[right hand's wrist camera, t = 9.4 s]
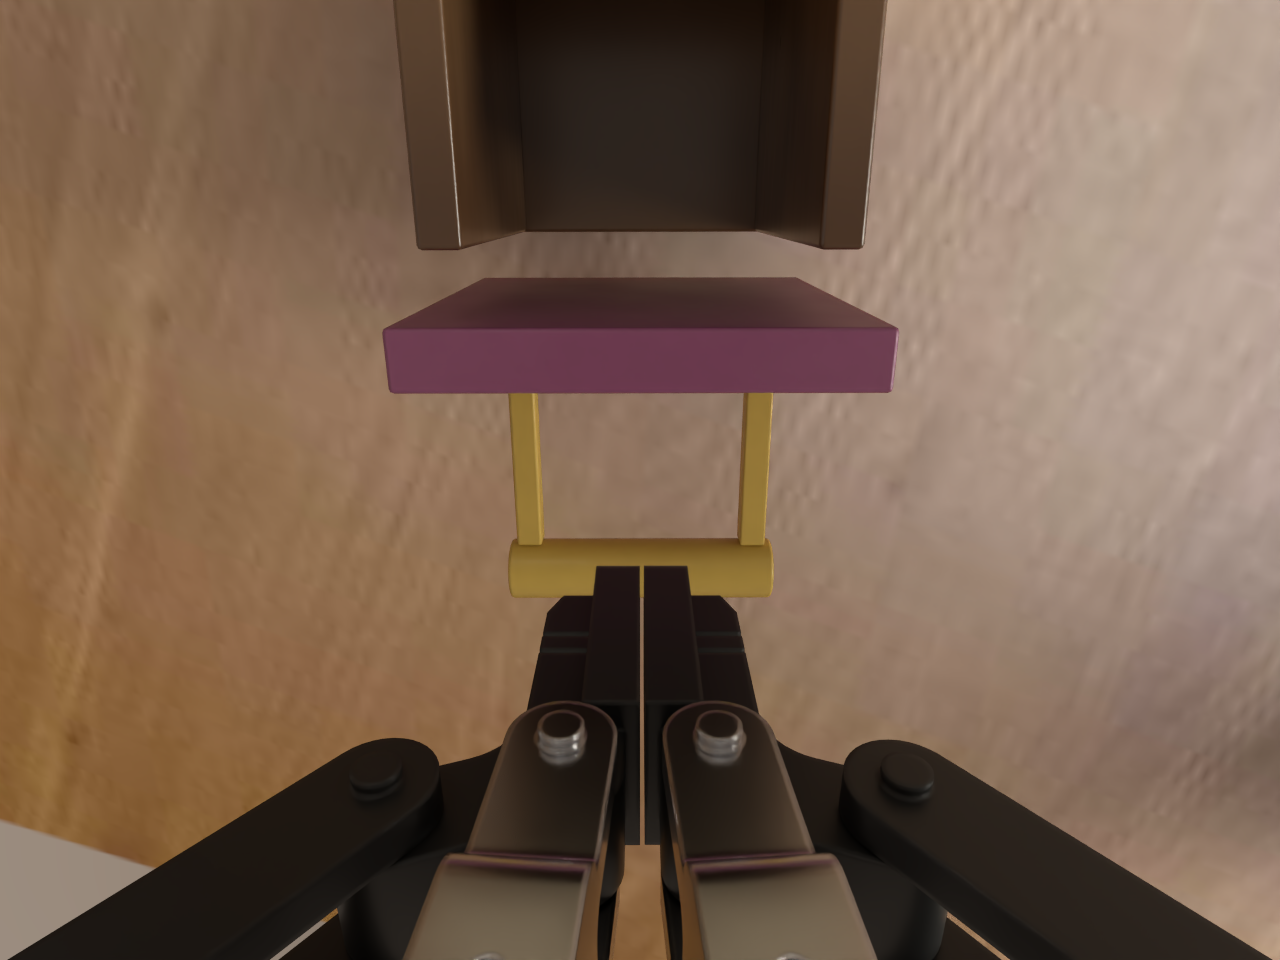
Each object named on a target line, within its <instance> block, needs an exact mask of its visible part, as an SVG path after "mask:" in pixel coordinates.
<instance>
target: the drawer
mask: <svg viewBox="0 0 1280 960" xmlns="http://www.w3.org/2000/svg"><path fill="white" fill-rule="evenodd" d="M393 5H394V16H395V26H396V36H397V47H398V57H399V67H400V78H401V88H402V98H403V109H404V119H405V129H406V140H407V150H408V160H409V170H410V181H411V191H412V201H413V212H414V222H415V232H416V243H417V246H418V249H421V250H460V249H464V248H467V247H471V246H475V245H478V244H482V243H485V242H489V241H493V240H496V239H500V238H504V237H507V236H511V235H514V234H518V233H522V232H742V231H758V232H761V233H765V234H769V235H772V236H776V237H780V238H783V239H787V240H791V241H794V242H798V243H802V244H805V245H809V246H813V247H817V248H820V249H860V248H863V246H864V244H865V233H866V223H867V212H868V201H869V191H870V180H871V169H872V159H873V148H874V138H875V127H876V116H877V106H878V95H879V85H880V74H881V63H882V53H883V42H884V31H885V21H886V10H887V0H393ZM382 334H383V343H384V351H385V360H386V369H387V377H388V386H389V390H390V392H392V393H394V394H412V393H508V395H509V411H510V427H511V444H512V460H513V476H514V492H515V508H516V525H517V539H514V540H513V541H512V544H511V547H510V552H509V562H508V579H509V588H510V592H511V595H512V596H513V597H515V598H562V597H563V596H564V595H593V591H594V582H595V573H596V566H640V597H644V566H687V567H688V574H689V582H690V590H691V595H720V596H721V597H769V596H770V595H771V592H772V588H773V579H774V563H773V552H772V547H771V543H770V541H769V540H768V539H766V538H765V524H766V507H767V490H768V473H769V456H770V439H771V422H772V406H773V393H888V392H891V391H892V389H893V383H894V374H895V365H896V356H897V347H898V339H899V330H898V328H896V327H894V326H892V325H890V324H888V323H886V322H884V321H882V320H880V319H878V318H876V317H874V316H872V315H870V314H868V313H866V312H864V311H862V310H860V309H858V308H856V307H854V306H852V305H850V304H848V303H846V302H844V301H842V300H840V299H838V298H836V297H834V296H832V295H830V294H828V293H826V292H824V291H822V290H820V289H818V288H816V287H814V286H812V285H810V284H808V283H806V282H804V281H802V280H800V279H798V278H796V277H794V278H484V279H482V280H480V281H478V282H476V283H474V284H472V285H470V286H468V287H466V288H464V289H462V290H460V291H458V292H456V293H454V294H452V295H450V296H448V297H446V298H444V299H442V300H440V301H438V302H436V303H434V304H432V305H430V306H428V307H426V308H424V309H422V310H420V311H419V312H417V313H415V314H413V315H411V316H409V317H407V318H405V319H403V320H401V321H399V322H397V323H395V324H393V325H391V326H389V327H387V328H385V329H383V333H382ZM538 393H744V398H743V420H742V442H741V464H740V486H739V508H738V529H737V536H738V538H650V539H543V538H544V516H543V495H542V474H541V454H540V433H539V412H538Z"/></svg>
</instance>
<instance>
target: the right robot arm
mask: <svg viewBox="0 0 1280 960" xmlns="http://www.w3.org/2000/svg"><path fill="white" fill-rule="evenodd" d="M644 794H645V845H660V858H661V894H660V895H661V910H662V919H663V928H664V937H665V945H666V954H667V960H1001V959H1000V958H998V957H997V956H996V955H995V954H993V953H992V952H991V951H990V950H988V949H987V948H986V947H984V946H983V945H982V944H981V943H979V942H978V941H977V940H975V939H974V938H973V937H972V936H970V935H969V934H968V933H966V932H965V931H964V930H963V929H961V928H960V927H959V926H958V925H956V924H955V923H954V922H952V921H951V920H950V919H949V918H947V912H949V913H951V914H952V915H953V916H955V917H956V918H957V919H958V920H960V921H961V922H962V923H964V924H965V925H966V926H967V927H969V928H970V929H971V930H973V931H974V932H975V933H976V934H978V935H979V936H980V937H982V938H983V939H984V940H986V941H987V942H988V943H989V944H991V945H992V946H993V947H995V948H996V949H997V950H998V951H1000V952H1001V953H1002V954H1004V955H1005V956H1006V957H1007V958H1009V959H1010V960H1272V959H1270V958H1269V957H1267V956H1265V955H1264V954H1262V953H1261V952H1259V951H1257V950H1256V949H1254V948H1252V947H1251V946H1249V945H1248V944H1246V943H1244V942H1243V941H1241V940H1239V939H1238V938H1236V937H1235V936H1233V935H1231V934H1230V933H1228V932H1226V931H1225V930H1223V929H1222V928H1220V927H1218V926H1217V925H1215V924H1213V923H1212V922H1210V921H1209V920H1207V919H1205V918H1204V917H1202V916H1200V915H1199V914H1197V913H1196V912H1194V911H1192V910H1191V909H1189V908H1187V907H1186V906H1184V905H1183V904H1181V903H1179V902H1178V901H1176V900H1174V899H1173V898H1171V897H1170V896H1168V895H1166V894H1165V893H1163V892H1162V891H1160V890H1158V889H1157V888H1155V887H1153V886H1152V885H1150V884H1149V883H1147V882H1145V881H1144V880H1142V879H1140V878H1139V877H1137V876H1136V875H1134V874H1132V873H1131V872H1129V871H1127V870H1126V869H1124V868H1123V867H1121V866H1119V865H1118V864H1116V863H1114V862H1113V861H1111V860H1110V859H1108V858H1106V857H1105V856H1103V855H1101V854H1100V853H1098V852H1097V851H1095V850H1093V849H1092V848H1090V847H1088V846H1087V845H1085V844H1084V843H1082V842H1080V841H1079V840H1077V839H1075V838H1074V837H1072V836H1071V835H1069V834H1067V833H1066V832H1064V831H1062V830H1061V829H1059V828H1058V827H1056V826H1054V825H1053V824H1051V823H1049V822H1048V821H1046V820H1045V819H1043V818H1041V817H1040V816H1038V815H1036V814H1035V813H1033V812H1032V811H1030V810H1028V809H1027V808H1025V807H1023V806H1022V805H1020V804H1019V803H1017V802H1015V801H1014V800H1012V799H1010V798H1009V797H1007V796H1006V795H1004V794H1002V793H1001V792H999V791H997V790H996V789H994V788H993V787H991V786H989V785H988V784H986V783H984V782H983V781H981V780H980V779H978V778H976V777H975V776H973V775H971V774H970V773H968V772H967V771H965V770H963V769H962V768H960V767H958V766H957V765H955V764H954V763H952V762H950V761H949V760H947V759H945V758H944V757H942V756H941V755H939V754H937V753H935V752H933V751H932V750H930V749H927V748H925V747H922V746H920V745H917V744H913V743H910V742H905V741H899V740H877V741H871V742H868V743H865V744H862V745H860V746H858V747H857V748H855V749H854V750H853V751H852V752H851V753H850V754H849V755H848V757H847V758H846V760H845V763H844V765H841V764H837V763H833V762H829V761H825V760H821V759H816V758H813V757H809V756H806V755H803V754H801V753H798V752H796V751H794V750H792V749H790V748H788V747H786V746H784V745H783V744H782V743H780V742H779V741H777V740H776V738H775V735H774V733H773V731H772V729H771V727H770V725H769V724H768V723H767V721H766V720H765V719H764V718H762V717H761V716H760V715H759V713H758V708H757V703H756V699H755V694H754V690H753V685H752V681H751V676H750V672H749V667H748V662H747V658H746V653H745V651H744V644H743V640H742V636H741V630H740V626H739V621H738V617H737V612H736V611H735V610H734V609H733V608H732V607H731V606H730V605H729V604H728V603H727V602H726V601H725V600H724V599H723V598H722V597H721V596H720V595H691V590H690V582H689V574H688V567H687V566H644ZM625 845H640V566H596V573H595V582H594V591H593V595H564V596H563V597H562V598H561V599H560V600H559V601H558V602H557V603H556V604H555V605H554V606H553V607H552V608H551V609H550V610H549V611H548V613H547V617H546V622H545V626H544V631H543V636H542V641H541V646H540V653H539V655H538V660H537V665H536V669H535V674H534V679H533V684H532V688H531V693H530V698H529V703H528V707H527V711H526V712H524V713H523V714H521V715H520V716H519V717H518V718H516V719H515V720H514V721H513V723H512V724H511V725H510V727H509V729H508V731H507V733H506V735H505V738H504V741H503V744H502V745H501V746H500V747H498V748H496V749H494V750H492V751H490V752H488V753H485V754H483V755H480V756H477V757H473V758H470V759H466V760H462V761H458V762H453V763H449V764H445V765H441V766H439V762H438V759H437V757H436V755H435V754H434V753H433V751H432V750H431V749H429V748H428V747H427V746H425V745H424V744H422V743H420V742H417V741H414V740H410V739H404V738H387V739H380V740H374V741H371V742H367V743H364V744H361V745H359V746H356V747H354V748H352V749H350V750H348V751H346V752H344V753H343V754H341V755H339V756H338V757H336V758H335V759H333V760H331V761H330V762H328V763H326V764H325V765H323V766H322V767H320V768H318V769H317V770H315V771H313V772H312V773H310V774H309V775H307V776H305V777H304V778H302V779H300V780H299V781H297V782H296V783H294V784H292V785H291V786H289V787H287V788H286V789H284V790H283V791H281V792H279V793H278V794H276V795H274V796H273V797H271V798H270V799H268V800H266V801H265V802H263V803H261V804H260V805H258V806H257V807H255V808H253V809H252V810H250V811H248V812H247V813H245V814H244V815H242V816H240V817H239V818H237V819H235V820H234V821H232V822H231V823H229V824H227V825H226V826H224V827H222V828H221V829H219V830H218V831H216V832H214V833H213V834H211V835H209V836H208V837H206V838H205V839H203V840H201V841H200V842H198V843H196V844H195V845H193V846H192V847H190V848H188V849H187V850H185V851H183V852H182V853H180V854H179V855H177V856H175V857H174V858H172V859H170V860H169V861H167V862H166V863H164V864H162V865H161V866H159V867H158V868H156V869H154V870H153V871H151V872H149V873H148V874H146V875H145V876H143V877H141V878H140V879H138V880H136V881H135V882H133V883H132V884H130V885H128V886H127V887H125V888H123V889H122V890H120V891H119V892H117V893H115V894H114V895H112V896H110V897H109V898H107V899H106V900H104V901H102V902H101V903H99V904H97V905H96V906H94V907H93V908H91V909H89V910H88V911H86V912H85V913H83V914H81V915H80V916H78V917H76V918H75V919H73V920H71V921H70V922H68V923H67V924H65V925H63V926H62V927H60V928H58V929H57V930H55V931H54V932H52V933H50V934H49V935H47V936H45V937H44V938H42V939H41V940H39V941H37V942H36V943H34V944H33V945H31V946H29V947H28V948H26V949H24V950H23V951H21V952H19V953H18V954H16V955H15V956H13V957H11V958H10V959H8V960H270V959H271V958H273V957H274V956H275V955H276V954H278V953H279V952H280V951H282V950H283V949H284V948H285V947H287V946H288V945H289V944H291V943H292V942H293V941H295V940H296V939H297V938H298V937H300V936H301V935H302V934H304V933H305V932H306V931H307V930H309V929H310V928H311V927H313V926H314V925H315V924H316V923H318V922H319V921H320V920H322V919H323V918H324V917H326V916H327V915H328V914H329V913H331V912H332V911H333V910H335V909H336V908H337V910H338V914H337V915H335V916H334V917H333V918H331V919H330V920H329V921H328V922H326V923H325V924H324V925H323V926H321V927H320V928H319V929H317V930H316V931H315V932H314V933H312V934H311V935H310V936H308V937H307V938H306V939H305V940H303V941H302V942H301V943H299V944H298V945H297V946H296V947H294V948H293V949H292V950H290V951H289V952H288V953H287V954H285V955H284V956H283V957H282V958H280V959H279V960H613V954H614V945H615V937H616V928H617V919H618V910H619V895H620V894H619V886H620V884H621V881H622V878H623V875H624V861H625Z"/></svg>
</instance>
